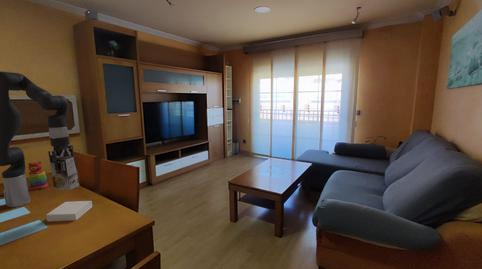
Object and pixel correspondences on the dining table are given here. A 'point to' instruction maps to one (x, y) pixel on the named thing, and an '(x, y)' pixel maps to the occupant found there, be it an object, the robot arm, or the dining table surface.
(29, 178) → the stacking bear
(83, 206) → the plinth
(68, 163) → the coffee box
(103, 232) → the dining table surface
